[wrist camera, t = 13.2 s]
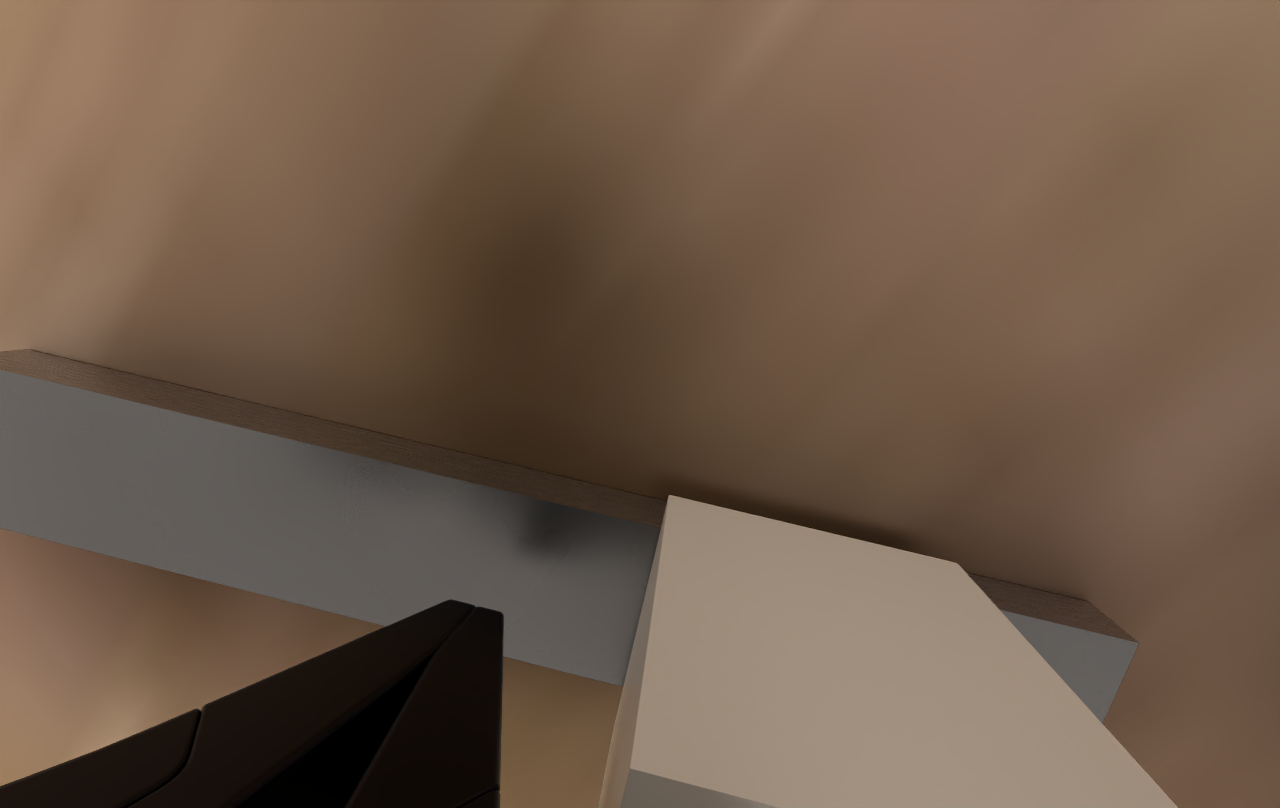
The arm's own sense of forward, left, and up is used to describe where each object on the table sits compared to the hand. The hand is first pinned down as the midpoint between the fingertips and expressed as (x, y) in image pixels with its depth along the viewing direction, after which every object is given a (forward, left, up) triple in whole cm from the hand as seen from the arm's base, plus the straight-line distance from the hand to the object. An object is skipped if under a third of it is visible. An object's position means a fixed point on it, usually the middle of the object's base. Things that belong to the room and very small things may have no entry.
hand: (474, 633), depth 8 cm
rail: (0, 0, -3) cm, 3 cm away
